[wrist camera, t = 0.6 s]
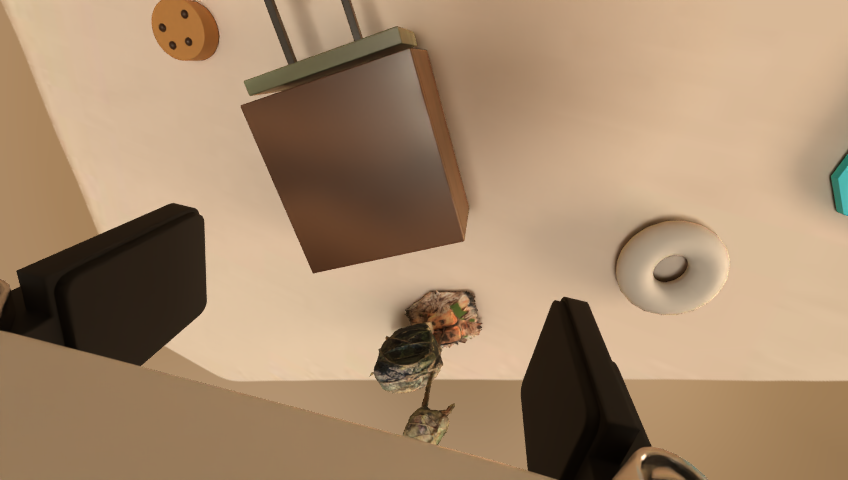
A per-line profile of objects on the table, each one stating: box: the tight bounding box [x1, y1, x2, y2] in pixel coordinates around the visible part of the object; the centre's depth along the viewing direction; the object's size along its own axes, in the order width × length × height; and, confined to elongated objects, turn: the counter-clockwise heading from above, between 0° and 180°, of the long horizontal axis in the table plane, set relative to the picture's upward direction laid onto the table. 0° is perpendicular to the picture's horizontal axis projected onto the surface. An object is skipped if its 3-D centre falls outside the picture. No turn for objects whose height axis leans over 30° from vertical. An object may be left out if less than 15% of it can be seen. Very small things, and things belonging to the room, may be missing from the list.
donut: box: [616, 220, 730, 315], centre depth 41 cm, size 10×3×10 cm
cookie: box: [152, 0, 219, 61], centre depth 39 cm, size 5×5×2 cm
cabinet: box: [241, 48, 469, 273], centre depth 38 cm, size 16×15×9 cm
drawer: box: [244, 0, 417, 96], centre depth 36 cm, size 21×13×7 cm, turn 17°
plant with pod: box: [369, 291, 482, 445], centre depth 40 cm, size 8×11×20 cm
